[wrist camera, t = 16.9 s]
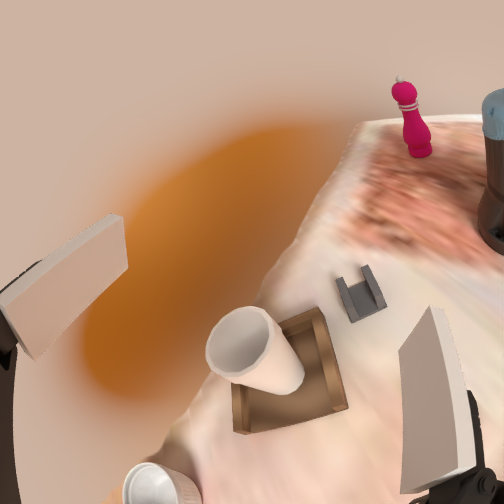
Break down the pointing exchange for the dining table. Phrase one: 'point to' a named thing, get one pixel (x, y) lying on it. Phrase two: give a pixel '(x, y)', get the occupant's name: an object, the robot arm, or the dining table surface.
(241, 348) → the foam cup
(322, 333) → the end holder
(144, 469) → the ramekin
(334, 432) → the dining table surface
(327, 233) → the dining table surface
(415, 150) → the pepper mill
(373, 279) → the clip
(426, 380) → the robot arm
